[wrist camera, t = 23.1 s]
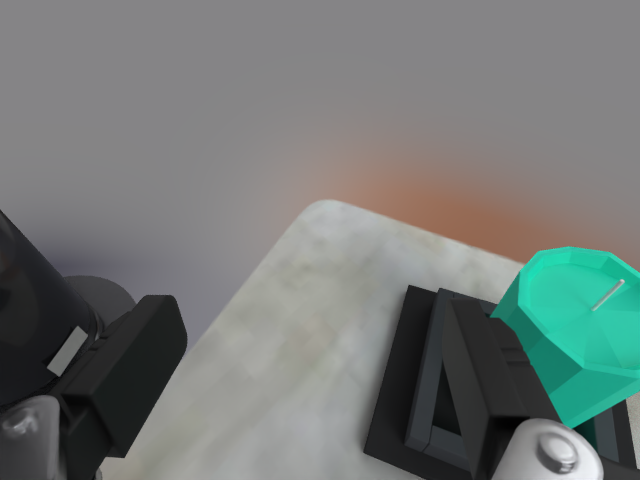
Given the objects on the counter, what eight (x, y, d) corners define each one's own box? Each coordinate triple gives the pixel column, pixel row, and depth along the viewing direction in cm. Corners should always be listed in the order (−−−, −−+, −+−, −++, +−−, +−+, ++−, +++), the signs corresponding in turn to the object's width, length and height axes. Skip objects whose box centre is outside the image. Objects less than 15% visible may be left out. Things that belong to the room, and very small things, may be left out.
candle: (470, 333, 25) (550, 204, 16) (565, 381, 23) (720, 261, 14) (438, 410, 22) (516, 301, 13) (545, 475, 19) (732, 398, 10)
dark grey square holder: (363, 452, 21) (367, 440, 19) (407, 290, 28) (413, 268, 26) (643, 571, 17) (686, 572, 15) (610, 350, 25) (636, 330, 23)
